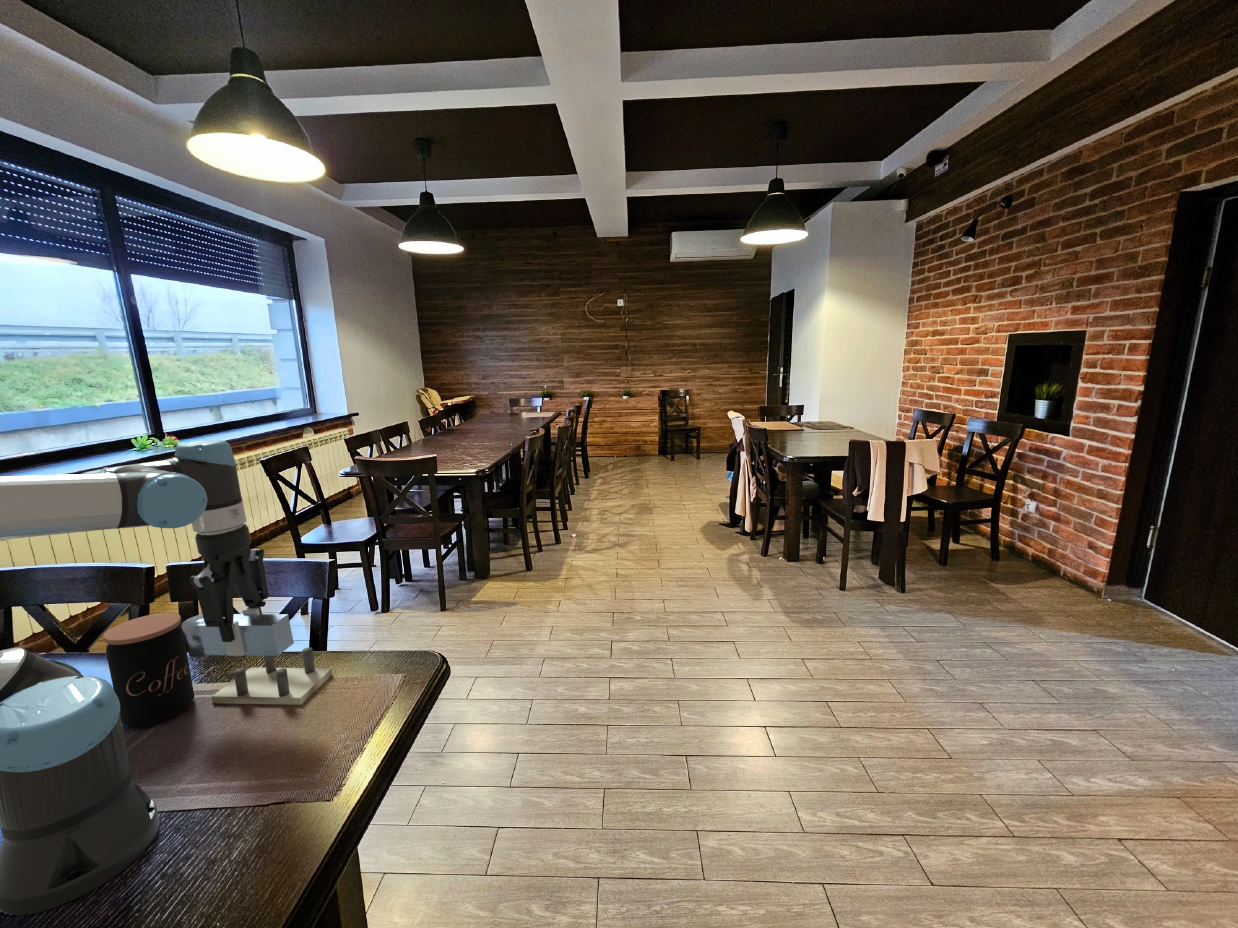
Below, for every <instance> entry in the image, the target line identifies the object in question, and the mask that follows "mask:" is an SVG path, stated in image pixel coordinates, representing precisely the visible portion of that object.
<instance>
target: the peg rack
mask: <svg viewBox="0 0 1238 928" xmlns="http://www.w3.org/2000/svg"><path fill="white" fill-rule="evenodd" d="M301 652H302V659H303V667H277V664H276V656H263V657H264V660H263V661H264V666H265V667H251V666H250V667H249V668H248V669H246V668H245V667H239V668H237V669H235V670H234V671H233V677H234V679H232V681H230V682H228V684H226V685H225V686H224V687H222V688H221V689H220V690H218V691H217V692H216V693H214V694H213V695H211V702H212V704H229V705H230V704H232V705H237V704H238V705H239V704H240V705H292V706H296V705H299V706H301V705H303V704H304V703H305V702H306V701H307V699H309V698H310V697H311V696H312V695H313V694H314V693H316V691H317V690H318V689H319V688H320V687H321V686H322V685H324V683H326V681H327V680H329V679H330V678H331V677H332V676H333V673H332V672H333V670H332V668H325V667H324V668H323V667H322V668H318V667H315V661H314V660H315V659H314V653H313V652H314V651H313V647H305V648H303V649H302V651H301ZM331 675H332V676H331ZM330 676H331V677H330ZM329 677H330V678H329Z"/></svg>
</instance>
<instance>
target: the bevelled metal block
mask: <svg viewBox="0 0 1238 928" xmlns="http://www.w3.org/2000/svg"><path fill="white" fill-rule="evenodd" d="M223 618H224V617H223ZM233 621H238V623H239V629H240V634H241V638H242V643H243V647H244V652H245V654H244V655H243V656H257V657H258V656H260V657H261V656H263V657H264V656H275V657H278V656H280V655H281V654H282V653H283V652H284V651H285V652H286V650H287V649H288V648H290V647H291V646H292V645H294V643H295V642H294V638H293V631H292V628H291V623H290V619H289V614H287V613H286V614H283V613H282V614H276V613H275V614H274V613H271V614H270V613H269V614H267V613H262V614H243V613H242V614H239V613H235V614H234V613H233ZM181 626H182V629H183V633H184V638H185V644H186V650H187V653H188V655H189V657H192V658H197V657H204V656H228V653H227V649H226V644H225V642H223V641H222V639H221V635H220V630H219V627H206V625H205V622H204V618H203V615H202V613H201V614H198V615H195V616H192V617H190V618H188V619H186V620H184V621H183V622H181Z"/></svg>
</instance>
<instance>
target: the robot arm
mask: <svg viewBox="0 0 1238 928" xmlns="http://www.w3.org/2000/svg"><path fill="white" fill-rule="evenodd" d="M174 452H175V453H174V457H170V458H167V459H163V460H155V461H149V462H147V461H146V462H141V463H133V464H127V465H120V466H112V467H109V466H107V467H106V466H105V467H103V468H102V469H101V468H100V469H95V470H91V471H84V472H82V473H81V474H79V473H77V474H48V475H47V474H45V475H44V474H43V475H40V474H39V475H13V476H12V475H11V476H10V475H8V476H7V475H6V476H0V541H1V540H2V541H5V540H13V539H22V538H23V539H24V538H33V537H45V536H52V535H53V536H54V535H55V536H56V535H64V534H73V533H75V534H76V533H81V532H82V533H84V532H85V533H86V532H93V531H94V532H95V531H105V530H114V529H116V530H118V529H129V528H130V529H131V528H141V527H150V526H151V527H153V528H159V529H178V528H183V527H186V526H189V525H191V527H192V531H193V532H195V533H196V534H195V535H194V540H195V544H196V548H197V552H198V554H199V555H200V556H201V557H202V558H203V565H202V569H203V570H202V571H201V572H200V573H199V574H198V575H192V576H190V578H189V583H190V584H191V585H192V587H193V588H194V589H195V592H196V596H197V599H198V603H199V607H200V611H201V614H202V615H203V618H204V622H205V625H206V627H219V630H220V635H221V639H222V641H223V642H225V644H226V649H227V653H228V655H227V656H228V657H242V656H245V655H244V654H245V652H244V647H243V643H242V638H241V634H240V629H239V623H238V621H233V614H234V595H233V592H234V590H233V589H234V588H233V587H234V586H235V585H236V586H237V587H236V588H237V589H238V592H239V593H240V596H241V598H242V601H243V603H244V606H246V608H243V609H242V614H263V613H262V612H263V611H262V608H263V607H265V606H266V605H267V603H266V602H267V601H265V600H267V599H268V598H269V595H270V594H269V590H268V583H267V577H266V571H265V566H264V555H265V551H264V549H263V548H251V547H249V546H250V544H251V543H252V537H251V535H250V534H251V533H250V529H249V525H248V524H246V522H247V515H246V511H245V507H244V502H243V496H242V492H241V491H242V490H241V487H240V482H239V475H238V470H237V466H238V465H237V463H236V459H235V456H234V453H233V449H232V447H231V445H230V444H229V442H227V441H225V440H219V439H216V440H215V439H211V440H198V441H192V442H188V443H187V442H186V443H181V444H178V445H176V447H175V448H174ZM223 617H224V618H223ZM159 829H160V816H159V811H158V807H157V805H156V803H155V801H153V800H152V798H151V797H150V796H149V795H148V794H147V793H146V792H145V791H144V790H143V788H141V786H140V785H139V784H138V783H137V782H136V780H134V778H133V774H132V768H131V763H130V759H129V754H128V748H127V743H126V738H125V733H124V728H123V724H122V722H121V717H120V702H119V699H118V697H117V695H116V694H115V692H114V689H113V685H112V683H110V682H108V681H107V680H105V678H104V679H103V678H101V677H97V676H92V675H83V674H82V673H81V671H79V669H77V668H76V667H74V666H73V665H71V664H69V663H66V662H63V661H60V660H56V659H50V658H45V657H42V656H40V655H37V654H35V653H33V652H31V651H28V650H27V649H25V648H21V647H11V648H7V649H2V650H0V831H1V832H0V833H1V835H2V841H1V845H0V910H2V911H3V912H6V913H7V914H13V915H16V917H17V916H19V917H20V916H21V917H22V916H28V915H35V914H38V913H43V912H46V911H50V910H53V909H52V907H55V906H57V905H61V904H63V903H65V902H68V901H70V902H72V899H75V900H77V899H79V898H81V897H82V896H85V895H86V894H88V893H90V892H92V891H94V890H95V889H97V888H99V887H100V886H103V885H104V884H107V883H108V882H109V881H111V879H113V878H114V877H117V876H118V875H119V874H120V873H121V872H123V871H125V869H127V868H128V867H129V866H130V865H131V864H133V862H135V861H136V860H137V859H138V858H140V856H141V855H142V854H143V853H144V852H145V851H146V850H147V849H148V847H149V846H150V845H151V843H152V842H153V841H154V839H155V837H156V836H157V833H158V831H159ZM78 897H79V898H78ZM76 898H77V899H76ZM68 903H69V902H68ZM63 905H64V904H63ZM61 906H62V905H61ZM55 908H56V907H55Z"/></svg>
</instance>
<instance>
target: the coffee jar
mask: <svg viewBox="0 0 1238 928" xmlns="http://www.w3.org/2000/svg"><path fill="white" fill-rule="evenodd" d="M180 624H182V618H181V615H180V614H178V613H177V612H176V613H174V612H159V613H153V614H147V615H144V616H141V617H140V616H139V617H137V618H132V619H130V620H126V621H124V622H121V623H119V624H117V625H115V626H113V627H111V628H110V629H108V630H106V632H105V633H104V634H103V637H102V639H103V642H104V643H106V644H107V645H106V647H105V649H106V650H105V654H106V659H107V663H108V670H109V674H110V678H111V685H112V687H113V689H114V692H115V694H116V695H117V697H118V699H119V702H120V717H121V722H122V726H125V727H126V728H129V730H131V729H132V730H143V729H144V730H145V729H149V728H153V727H157V726H159V725H161V724H162V725H163V724H166V723H167V722H170V721H171V720H174V719H177V718H178V717H179V716H180V715H182V714H184V713H185V712H186V711H187V710H188V709H189V708H190V707H191V704H192V703H193V701H194V699H195V692H194V686H193V681H192V674H191V668H190V662H189V657H188V649H187V645H186V641H185V637H184V633H183V629H182V625H180Z"/></svg>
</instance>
